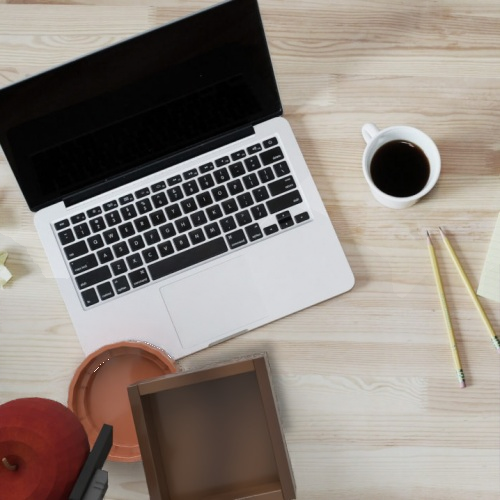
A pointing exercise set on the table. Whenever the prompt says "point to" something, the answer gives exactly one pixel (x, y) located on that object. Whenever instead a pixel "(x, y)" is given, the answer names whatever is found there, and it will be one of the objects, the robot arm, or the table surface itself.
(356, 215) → the table surface
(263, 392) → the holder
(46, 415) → the apple
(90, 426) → the bowl
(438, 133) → the table surface
